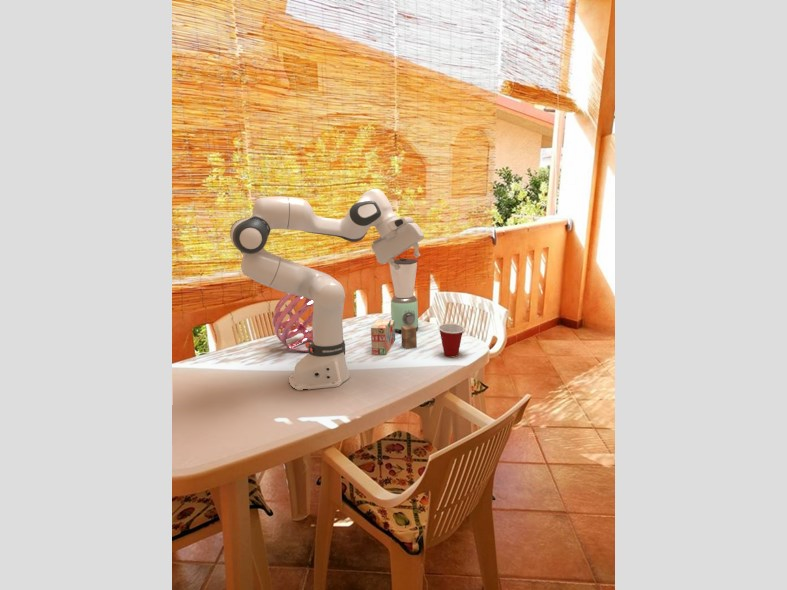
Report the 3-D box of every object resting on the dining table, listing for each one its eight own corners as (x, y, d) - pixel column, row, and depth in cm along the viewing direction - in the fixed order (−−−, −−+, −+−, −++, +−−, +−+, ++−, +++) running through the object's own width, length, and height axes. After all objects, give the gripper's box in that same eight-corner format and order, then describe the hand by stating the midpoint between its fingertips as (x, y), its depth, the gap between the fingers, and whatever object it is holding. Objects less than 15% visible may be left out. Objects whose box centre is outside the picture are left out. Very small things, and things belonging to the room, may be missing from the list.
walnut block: (406, 349, 212) (405, 329, 210) (401, 345, 216) (401, 326, 214) (416, 347, 213) (416, 327, 211) (412, 344, 218) (411, 324, 216)
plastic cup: (452, 361, 196) (452, 332, 193) (433, 354, 204) (432, 327, 201) (470, 354, 203) (470, 326, 200) (450, 348, 211) (450, 321, 208)
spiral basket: (356, 304, 211) (312, 266, 219) (309, 336, 192) (263, 293, 200) (342, 343, 230) (302, 307, 238) (298, 375, 212) (256, 334, 219)
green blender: (424, 332, 233) (423, 260, 225) (398, 336, 229) (395, 262, 221) (409, 322, 251) (408, 254, 243) (385, 325, 247) (382, 257, 238)
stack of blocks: (382, 339, 227) (381, 313, 224) (395, 339, 226) (394, 313, 223) (371, 355, 206) (370, 327, 204) (386, 355, 205) (385, 327, 202)
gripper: (365, 244, 181) (382, 277, 179) (407, 215, 171) (425, 250, 169) (374, 243, 186) (390, 275, 185) (415, 215, 176) (433, 248, 175)
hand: (408, 263), depth 177 cm, fingers open, 8 cm apart
